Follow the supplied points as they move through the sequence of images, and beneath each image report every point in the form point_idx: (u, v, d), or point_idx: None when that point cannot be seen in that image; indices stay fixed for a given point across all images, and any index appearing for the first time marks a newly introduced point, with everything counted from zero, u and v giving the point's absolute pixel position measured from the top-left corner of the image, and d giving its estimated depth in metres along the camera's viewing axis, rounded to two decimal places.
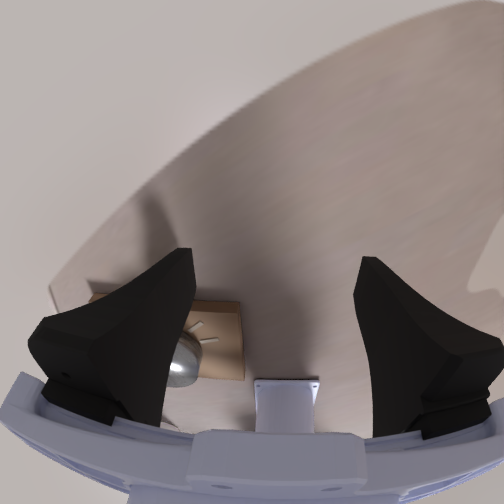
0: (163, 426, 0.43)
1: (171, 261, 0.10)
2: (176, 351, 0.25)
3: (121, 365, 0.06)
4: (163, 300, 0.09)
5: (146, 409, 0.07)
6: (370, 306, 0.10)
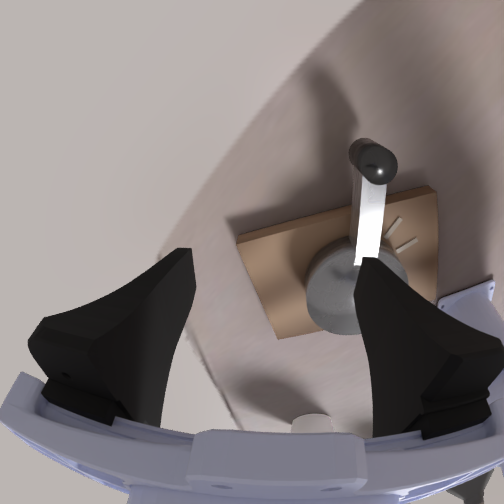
0: (314, 418, 0.37)
1: (171, 261, 0.10)
2: (389, 258, 0.18)
3: (121, 365, 0.06)
4: (163, 300, 0.09)
5: (146, 409, 0.07)
6: (370, 306, 0.10)
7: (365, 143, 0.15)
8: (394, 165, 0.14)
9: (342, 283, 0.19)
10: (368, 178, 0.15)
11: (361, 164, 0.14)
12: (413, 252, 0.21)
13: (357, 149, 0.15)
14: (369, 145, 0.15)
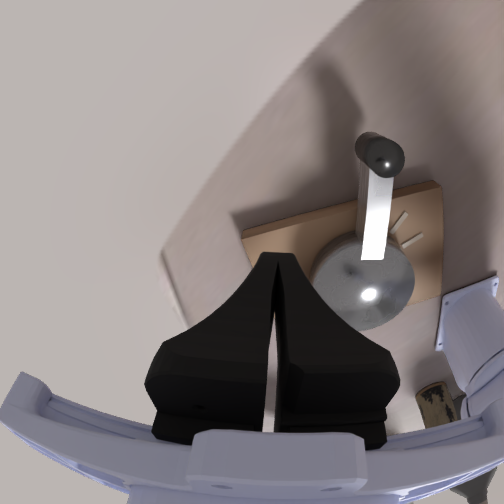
0: None
1: (269, 266, 0.10)
2: (396, 253, 0.18)
3: None
4: (271, 308, 0.09)
5: None
6: (278, 304, 0.10)
7: (372, 136, 0.15)
8: (401, 158, 0.14)
9: (348, 277, 0.19)
10: (375, 171, 0.14)
11: (368, 157, 0.14)
12: (418, 247, 0.20)
13: (364, 142, 0.15)
14: (376, 138, 0.14)
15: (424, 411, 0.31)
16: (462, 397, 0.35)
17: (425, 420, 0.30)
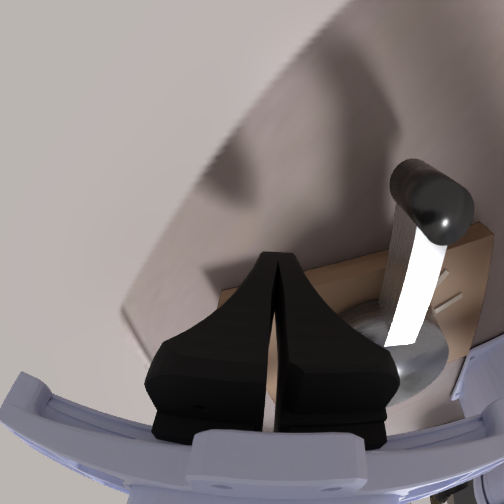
0: None
1: (269, 266, 0.10)
2: (432, 334, 0.11)
3: None
4: (271, 308, 0.09)
5: None
6: (278, 304, 0.10)
7: (422, 171, 0.09)
8: (469, 214, 0.07)
9: None
10: (429, 236, 0.08)
11: (421, 212, 0.08)
12: (454, 310, 0.14)
13: (409, 180, 0.09)
14: (432, 177, 0.08)
15: None
16: None
17: None
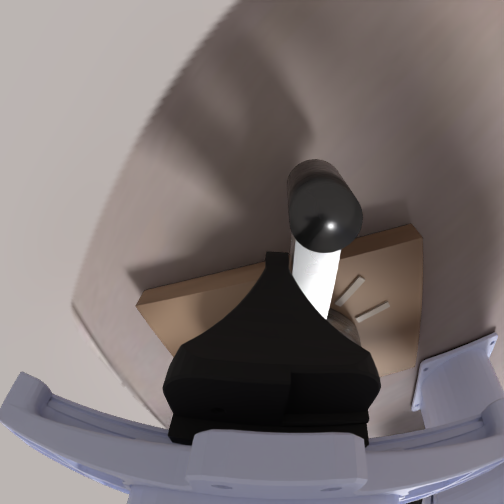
0: None
1: (281, 267, 0.10)
2: None
3: None
4: None
5: None
6: None
7: (309, 172, 0.09)
8: (356, 219, 0.08)
9: None
10: (301, 241, 0.09)
11: (290, 215, 0.08)
12: (383, 319, 0.15)
13: (294, 182, 0.09)
14: (313, 177, 0.08)
15: None
16: None
17: None
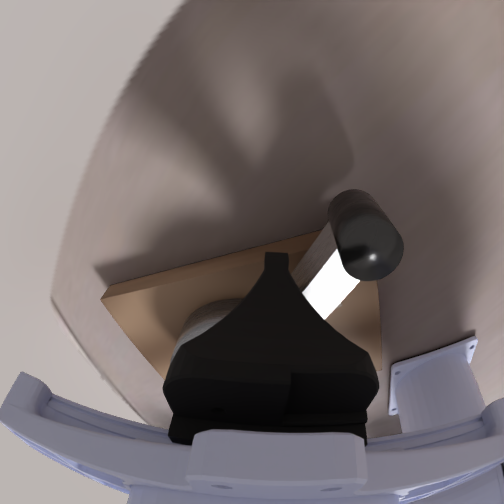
0: None
1: (281, 267, 0.10)
2: None
3: None
4: None
5: None
6: None
7: (368, 204, 0.10)
8: (393, 263, 0.09)
9: None
10: (344, 261, 0.09)
11: (348, 235, 0.09)
12: (337, 319, 0.15)
13: (351, 206, 0.10)
14: (375, 212, 0.09)
15: None
16: None
17: None
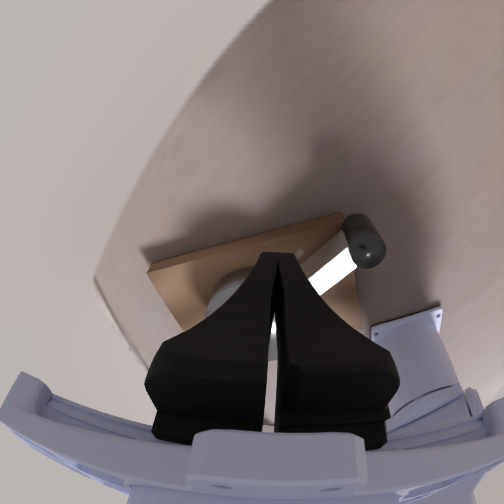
0: (262, 429, 0.38)
1: (269, 266, 0.10)
2: None
3: None
4: (271, 308, 0.09)
5: None
6: (278, 304, 0.10)
7: (370, 225, 0.17)
8: (378, 260, 0.16)
9: None
10: (352, 253, 0.16)
11: (358, 240, 0.16)
12: None
13: (360, 224, 0.17)
14: (373, 230, 0.16)
15: None
16: None
17: None
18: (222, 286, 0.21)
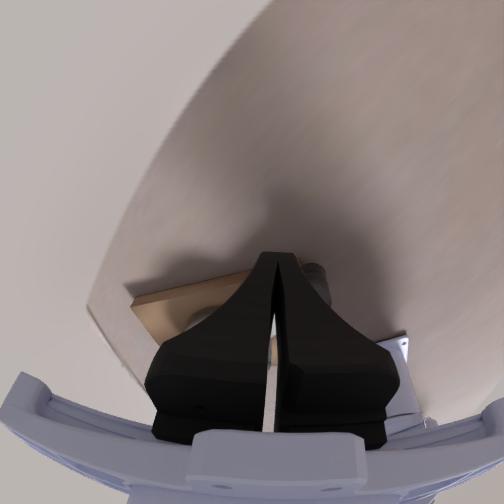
0: None
1: (269, 266, 0.10)
2: None
3: None
4: (271, 308, 0.09)
5: None
6: (278, 304, 0.10)
7: (319, 277, 0.19)
8: None
9: None
10: None
11: None
12: None
13: (310, 275, 0.19)
14: (320, 283, 0.18)
15: None
16: None
17: None
18: (192, 323, 0.23)
